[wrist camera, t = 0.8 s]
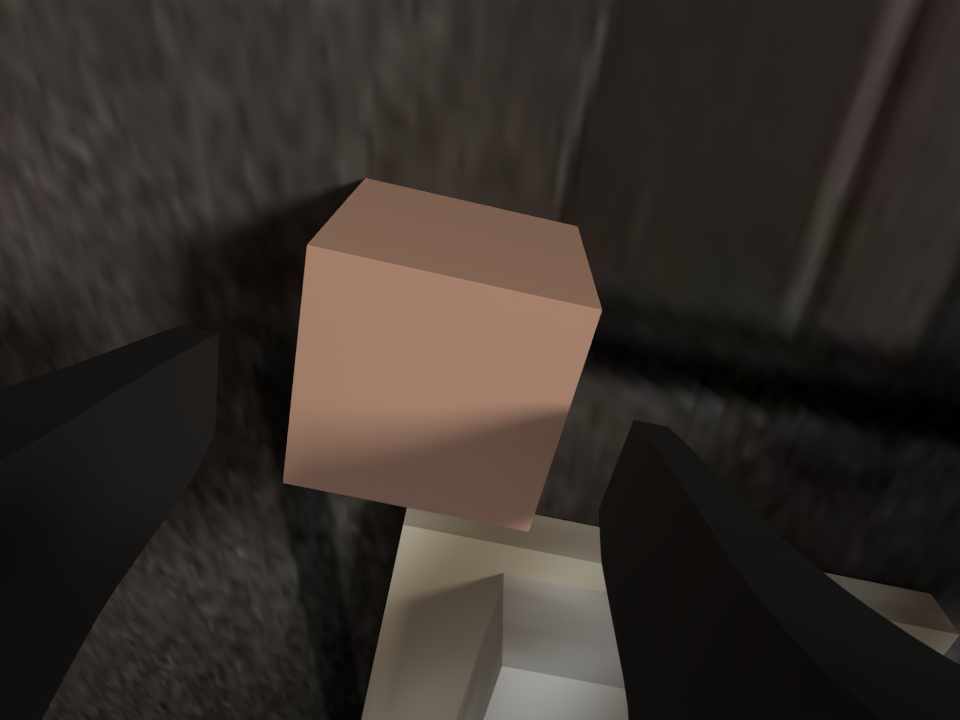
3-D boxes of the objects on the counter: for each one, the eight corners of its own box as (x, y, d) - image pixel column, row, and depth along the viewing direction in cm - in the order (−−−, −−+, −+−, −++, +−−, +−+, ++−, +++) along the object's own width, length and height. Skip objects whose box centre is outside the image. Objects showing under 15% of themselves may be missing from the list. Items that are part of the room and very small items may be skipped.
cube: (577, 225, 16) (601, 310, 11) (525, 403, 18) (528, 531, 14) (366, 177, 15) (307, 245, 11) (340, 364, 18) (283, 482, 13)
